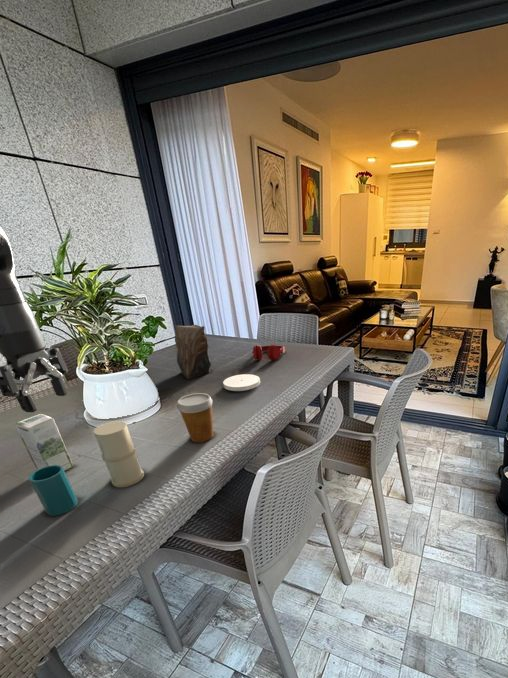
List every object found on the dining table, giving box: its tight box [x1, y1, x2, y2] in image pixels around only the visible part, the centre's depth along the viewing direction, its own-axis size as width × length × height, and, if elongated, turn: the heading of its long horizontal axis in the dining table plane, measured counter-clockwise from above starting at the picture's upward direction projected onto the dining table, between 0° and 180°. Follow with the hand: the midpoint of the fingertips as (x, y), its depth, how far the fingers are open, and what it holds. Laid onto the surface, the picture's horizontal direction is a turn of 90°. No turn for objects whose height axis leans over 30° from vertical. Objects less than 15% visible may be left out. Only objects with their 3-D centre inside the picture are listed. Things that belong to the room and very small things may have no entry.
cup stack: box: [93, 420, 145, 488], centre depth 82 cm, size 7×7×14 cm
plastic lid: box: [222, 373, 261, 392], centre depth 136 cm, size 14×14×2 cm
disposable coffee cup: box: [176, 392, 214, 443], centre depth 100 cm, size 10×10×12 cm
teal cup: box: [28, 465, 79, 517], centre depth 75 cm, size 6×6×9 cm
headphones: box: [251, 344, 286, 361], centre depth 171 cm, size 15×7×20 cm
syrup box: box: [14, 413, 74, 472], centre depth 86 cm, size 6×6×14 cm
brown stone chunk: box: [174, 324, 212, 380], centre depth 149 cm, size 13×13×20 cm
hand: (47, 403), depth 76 cm, fingers open, 8 cm apart
